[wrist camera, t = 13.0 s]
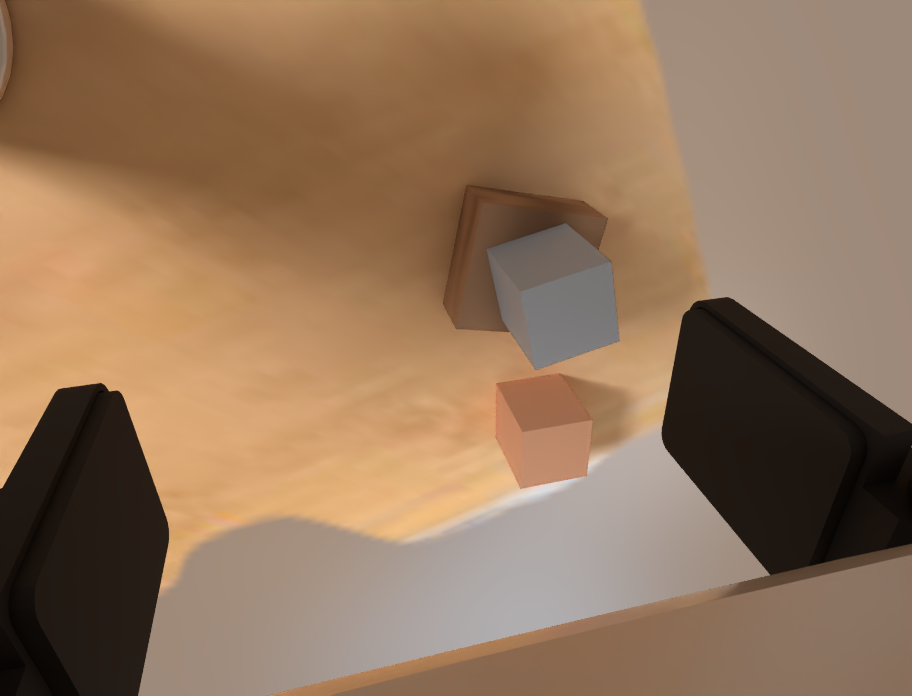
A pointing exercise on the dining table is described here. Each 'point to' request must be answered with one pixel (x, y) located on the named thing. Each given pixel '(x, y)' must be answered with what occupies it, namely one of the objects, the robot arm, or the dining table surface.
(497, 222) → the walnut base
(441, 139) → the dining table surface
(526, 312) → the slate block
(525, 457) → the terracotta block
